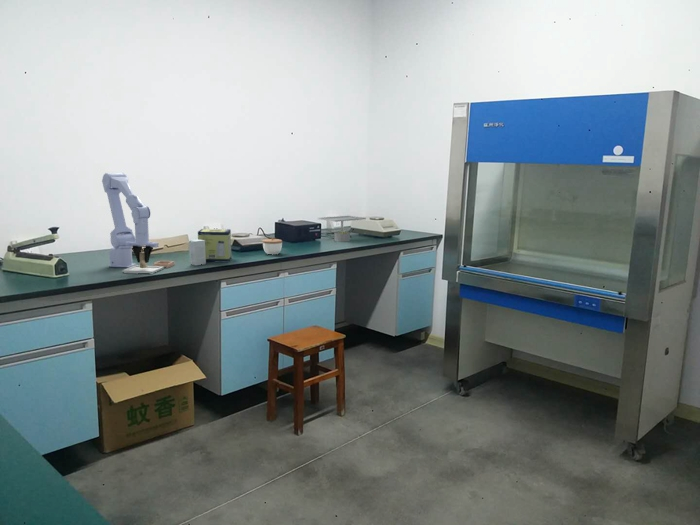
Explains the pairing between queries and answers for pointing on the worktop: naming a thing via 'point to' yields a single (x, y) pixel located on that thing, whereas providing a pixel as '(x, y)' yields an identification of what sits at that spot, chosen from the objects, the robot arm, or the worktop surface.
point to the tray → (142, 269)
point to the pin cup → (164, 263)
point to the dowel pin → (142, 260)
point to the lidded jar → (272, 246)
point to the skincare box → (197, 252)
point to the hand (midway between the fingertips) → (143, 262)
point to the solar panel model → (342, 235)
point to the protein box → (216, 244)
